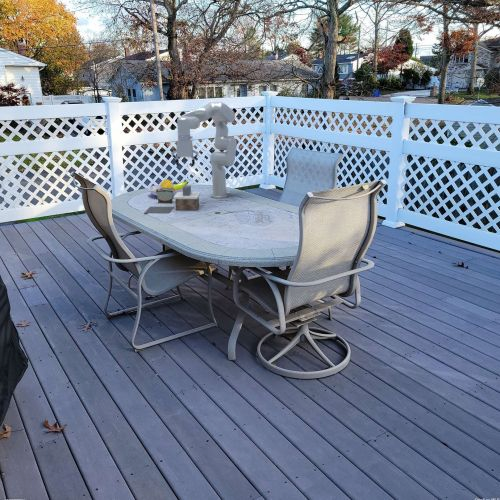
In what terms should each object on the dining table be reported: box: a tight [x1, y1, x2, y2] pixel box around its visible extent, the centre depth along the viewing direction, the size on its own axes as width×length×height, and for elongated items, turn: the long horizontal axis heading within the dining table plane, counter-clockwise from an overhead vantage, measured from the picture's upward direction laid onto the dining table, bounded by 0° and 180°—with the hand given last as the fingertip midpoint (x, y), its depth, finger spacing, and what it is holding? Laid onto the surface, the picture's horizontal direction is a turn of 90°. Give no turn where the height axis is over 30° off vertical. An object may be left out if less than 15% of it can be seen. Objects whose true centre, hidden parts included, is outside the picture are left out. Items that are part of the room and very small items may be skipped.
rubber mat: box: [143, 206, 175, 215], centre depth 309 cm, size 16×16×1 cm
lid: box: [173, 185, 201, 200], centre depth 311 cm, size 15×15×6 cm
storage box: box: [174, 196, 200, 211], centre depth 313 cm, size 13×13×8 cm
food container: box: [156, 188, 174, 204], centre depth 327 cm, size 12×6×10 cm, turn 84°
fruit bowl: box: [147, 178, 189, 197], centre depth 347 cm, size 28×27×11 cm
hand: (185, 165), depth 305 cm, fingers open, 9 cm apart
